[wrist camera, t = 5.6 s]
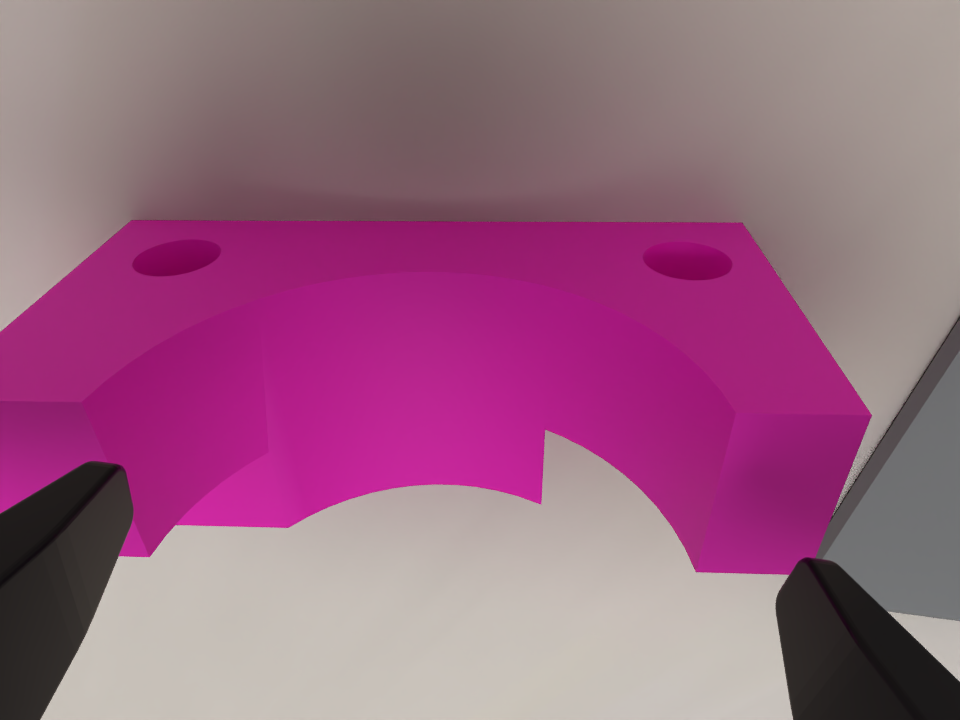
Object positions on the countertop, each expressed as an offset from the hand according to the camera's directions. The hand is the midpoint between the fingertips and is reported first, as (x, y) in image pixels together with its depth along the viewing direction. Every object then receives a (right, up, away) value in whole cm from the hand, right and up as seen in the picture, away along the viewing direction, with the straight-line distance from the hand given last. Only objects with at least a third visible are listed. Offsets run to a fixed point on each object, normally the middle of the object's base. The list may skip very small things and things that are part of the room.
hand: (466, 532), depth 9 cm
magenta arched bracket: (-1, +3, +10) cm, 10 cm away
